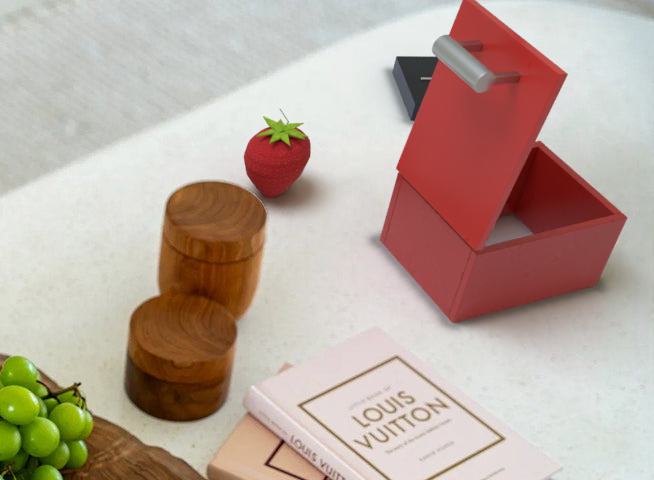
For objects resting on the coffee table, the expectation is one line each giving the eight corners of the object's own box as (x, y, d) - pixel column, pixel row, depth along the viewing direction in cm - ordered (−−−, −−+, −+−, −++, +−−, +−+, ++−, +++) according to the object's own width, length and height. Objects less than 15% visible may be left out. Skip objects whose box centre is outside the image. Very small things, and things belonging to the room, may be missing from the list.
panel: (493, 80, 133) (501, 55, 131) (517, 128, 126) (526, 103, 124) (390, 79, 133) (396, 54, 131) (408, 128, 126) (415, 102, 124)
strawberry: (223, 201, 117) (235, 116, 109) (269, 171, 120) (284, 86, 113) (269, 227, 114) (285, 141, 107) (315, 195, 117) (333, 110, 110)
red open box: (512, 214, 116) (540, 140, 109) (593, 292, 107) (628, 217, 101) (377, 247, 112) (397, 172, 105) (450, 330, 104) (477, 254, 97)
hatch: (471, -4, 94) (419, -2, 92) (568, 74, 86) (514, 77, 84) (402, 167, 105) (355, 172, 104) (482, 250, 97) (433, 256, 95)
